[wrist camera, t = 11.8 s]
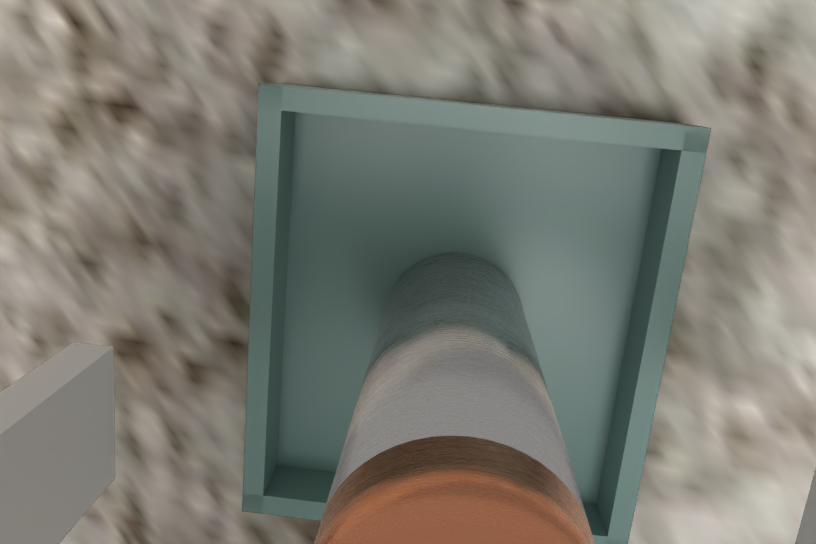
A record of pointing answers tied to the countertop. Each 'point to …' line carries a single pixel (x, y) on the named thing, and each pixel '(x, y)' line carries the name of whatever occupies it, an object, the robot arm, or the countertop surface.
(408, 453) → the pin
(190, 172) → the countertop surface
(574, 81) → the countertop surface
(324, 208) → the tray
